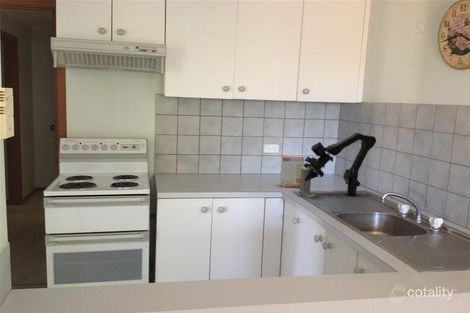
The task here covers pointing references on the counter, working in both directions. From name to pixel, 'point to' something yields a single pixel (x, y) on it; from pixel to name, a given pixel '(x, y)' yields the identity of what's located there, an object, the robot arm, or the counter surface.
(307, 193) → the green floppy disk
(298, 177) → the cracker box
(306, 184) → the chute block
